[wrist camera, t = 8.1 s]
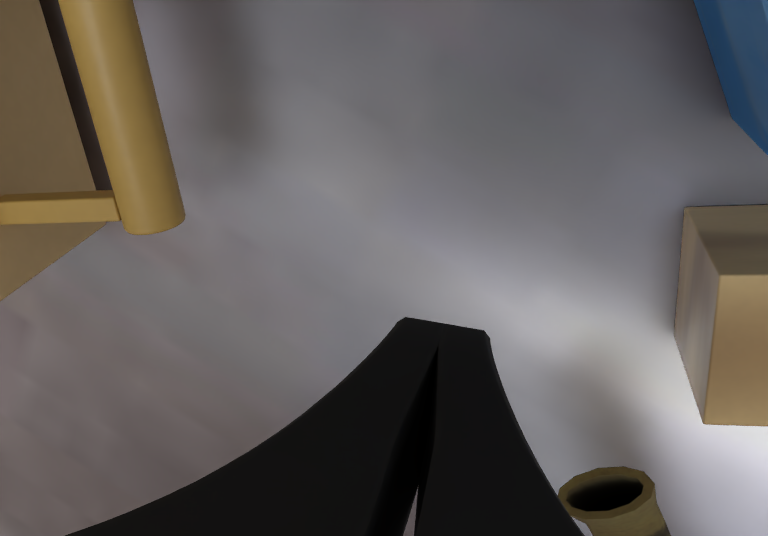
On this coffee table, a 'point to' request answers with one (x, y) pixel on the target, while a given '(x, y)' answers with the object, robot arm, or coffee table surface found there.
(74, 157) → the drawer
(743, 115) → the perfume bottle
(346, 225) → the coffee table surface
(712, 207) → the block
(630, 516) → the teapot
